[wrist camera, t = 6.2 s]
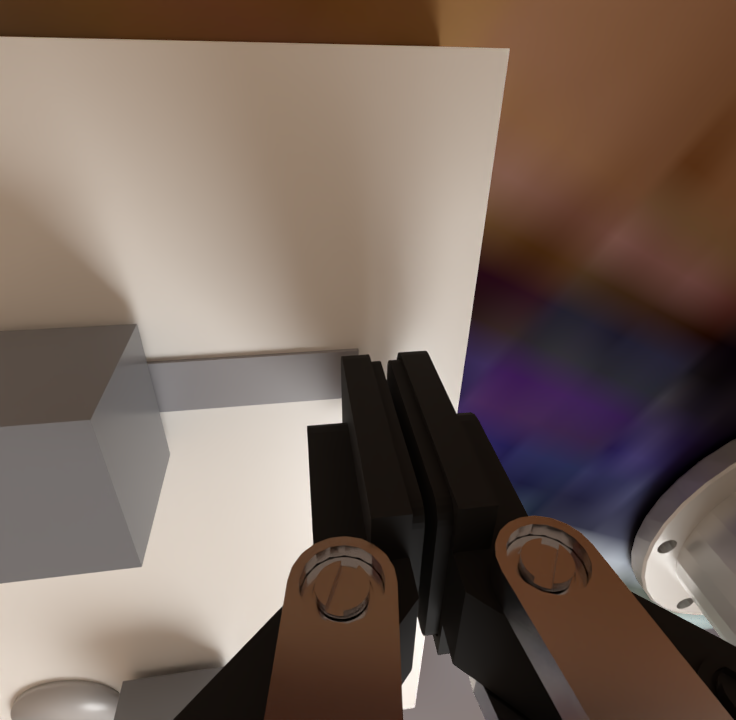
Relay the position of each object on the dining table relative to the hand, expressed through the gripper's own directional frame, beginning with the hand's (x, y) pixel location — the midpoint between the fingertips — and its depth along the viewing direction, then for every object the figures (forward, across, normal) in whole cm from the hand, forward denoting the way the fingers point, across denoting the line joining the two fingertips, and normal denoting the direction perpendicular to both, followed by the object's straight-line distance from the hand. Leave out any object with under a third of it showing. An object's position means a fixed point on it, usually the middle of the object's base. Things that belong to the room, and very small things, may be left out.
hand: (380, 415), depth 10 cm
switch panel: (+5, +5, +5) cm, 9 cm away
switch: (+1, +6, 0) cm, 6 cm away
